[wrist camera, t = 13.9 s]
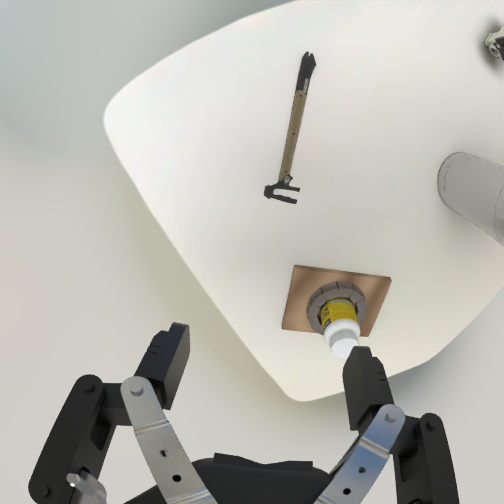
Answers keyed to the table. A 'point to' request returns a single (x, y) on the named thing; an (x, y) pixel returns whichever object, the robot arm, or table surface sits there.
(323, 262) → the table surface
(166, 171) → the table surface
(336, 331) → the supplement bottle
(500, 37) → the pneumatic valve
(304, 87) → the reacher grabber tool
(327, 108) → the table surface
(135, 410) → the robot arm
